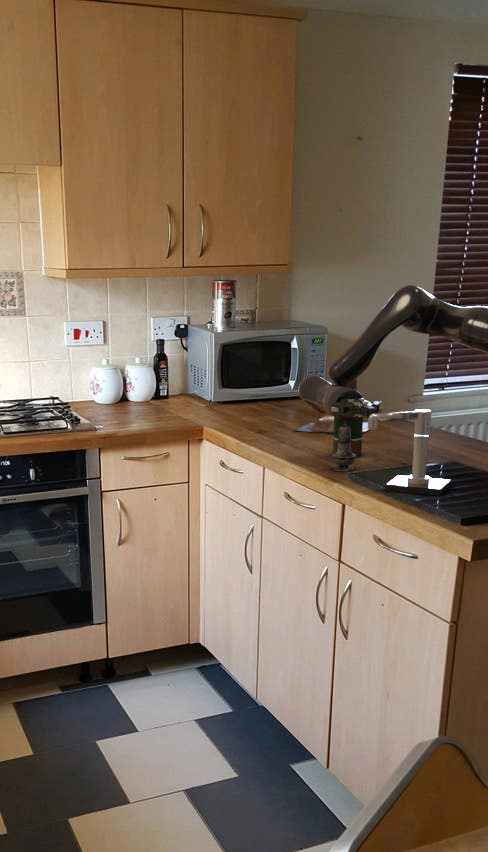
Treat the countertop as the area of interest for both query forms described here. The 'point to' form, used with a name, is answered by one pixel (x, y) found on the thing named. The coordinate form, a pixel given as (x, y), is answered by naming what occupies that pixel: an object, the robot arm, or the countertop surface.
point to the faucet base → (418, 488)
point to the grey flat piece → (324, 425)
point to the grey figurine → (344, 450)
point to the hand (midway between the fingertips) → (372, 413)
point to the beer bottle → (355, 430)
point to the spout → (419, 416)
